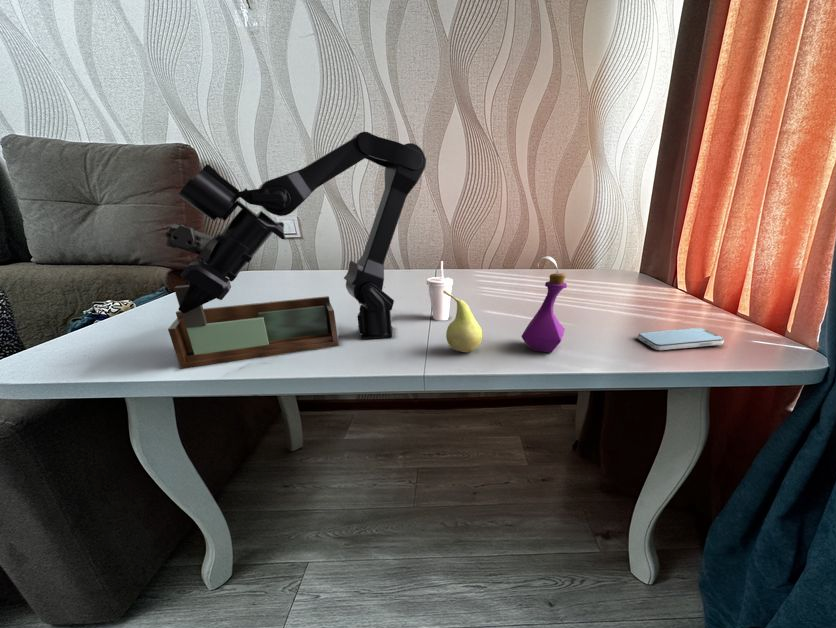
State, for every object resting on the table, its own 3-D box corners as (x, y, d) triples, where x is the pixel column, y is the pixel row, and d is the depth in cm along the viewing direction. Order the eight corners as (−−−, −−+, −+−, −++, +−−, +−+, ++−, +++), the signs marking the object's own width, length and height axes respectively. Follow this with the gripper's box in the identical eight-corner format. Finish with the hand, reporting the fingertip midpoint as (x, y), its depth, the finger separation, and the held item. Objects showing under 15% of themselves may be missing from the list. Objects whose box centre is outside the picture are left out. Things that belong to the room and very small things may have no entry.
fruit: (479, 359, 70) (480, 296, 66) (440, 356, 72) (438, 294, 67) (484, 346, 76) (485, 287, 72) (448, 343, 78) (447, 286, 73)
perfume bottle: (563, 343, 78) (572, 254, 71) (559, 357, 71) (569, 260, 64) (527, 339, 80) (533, 252, 73) (520, 352, 73) (525, 258, 67)
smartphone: (635, 332, 80) (700, 326, 82) (634, 339, 81) (698, 334, 83) (657, 345, 73) (727, 338, 75) (656, 353, 74) (725, 346, 76)
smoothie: (450, 323, 90) (449, 263, 85) (424, 321, 91) (422, 262, 86) (456, 315, 96) (455, 259, 91) (432, 313, 97) (430, 258, 92)
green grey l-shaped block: (269, 346, 74) (255, 279, 69) (269, 348, 72) (254, 281, 67) (196, 356, 69) (175, 286, 64) (195, 359, 68) (173, 287, 63)
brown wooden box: (333, 333, 83) (328, 296, 80) (338, 345, 77) (333, 305, 73) (189, 353, 73) (176, 311, 70) (180, 369, 66) (165, 323, 63)
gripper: (202, 204, 68) (146, 270, 68) (179, 207, 53) (107, 292, 53) (260, 246, 74) (209, 307, 74) (255, 260, 59) (190, 337, 59)
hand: (182, 310), depth 65 cm, fingers closed on green grey l-shaped block, 2 cm apart
